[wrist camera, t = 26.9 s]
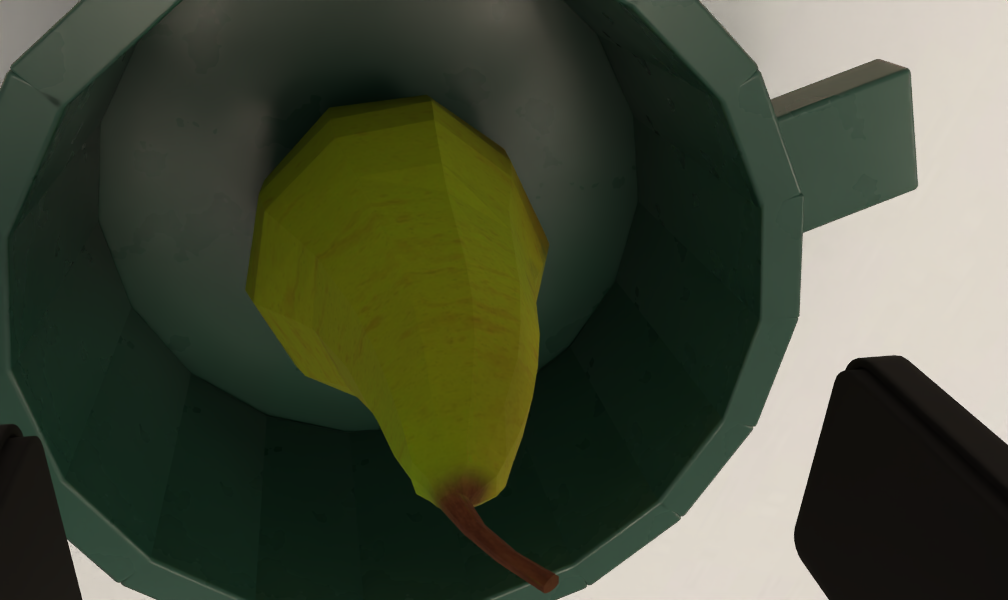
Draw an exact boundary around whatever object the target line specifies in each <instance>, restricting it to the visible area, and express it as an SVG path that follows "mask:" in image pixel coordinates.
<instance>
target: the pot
mask: <svg viewBox="0 0 1008 600" xmlns="http://www.w3.org/2000/svg"><path fill="white" fill-rule="evenodd" d="M10 69H11V70H9V71H8V72H7V73H6V76H5V78H4V81H3V83H2V86H1V88H0V425H1V424H15V425H17V426H18V427H19V428H20V430H21V431H22V434H23V436H24V437H25V436H37V437H39V439H40V440H41V442H42V445H43V448H44V452H45V456H46V459H47V463H48V467H49V471H50V475H51V479H52V483H53V487H54V491H55V495H56V499H57V503H58V506H59V510H60V514H61V518H62V522H63V526H64V530H65V534H66V538H67V540H69V541H70V542H71V543H72V544H73V545H74V546H75V547H77V548H78V549H79V550H80V551H81V552H82V553H83V554H85V555H86V556H87V557H88V558H89V559H90V560H92V561H93V562H94V563H95V564H96V565H97V566H98V567H100V568H101V569H102V570H103V571H104V572H105V573H107V574H108V575H109V576H110V577H111V578H112V579H113V580H115V581H116V582H118V583H120V582H121V584H122V585H123V586H125V587H128V588H130V589H132V590H135V591H137V592H140V593H142V594H144V595H147V596H149V597H152V598H154V599H156V600H557V599H559V598H562V597H564V596H567V595H569V594H572V593H574V592H577V591H579V590H582V589H584V588H586V587H587V585H592V584H593V583H595V582H596V581H597V580H599V579H600V578H601V577H603V576H604V575H605V574H607V573H608V572H610V571H611V570H612V569H614V568H615V567H616V566H618V565H619V564H620V563H622V562H623V561H625V560H626V559H627V558H629V557H630V556H631V555H633V554H634V553H636V552H637V551H638V550H640V549H641V548H642V547H644V546H645V545H646V544H648V543H649V542H651V541H652V540H653V539H655V538H656V537H657V536H659V535H660V534H661V533H663V532H664V531H666V530H667V529H668V528H670V527H671V526H672V525H674V524H675V523H676V522H678V521H679V520H680V519H681V516H684V515H685V514H686V513H687V512H688V510H689V509H690V508H691V507H692V505H693V504H694V503H695V502H696V500H697V499H698V498H699V497H700V495H701V494H702V493H703V492H704V490H705V489H706V488H707V487H708V485H709V484H710V483H711V482H712V480H713V479H714V478H715V477H716V475H717V474H718V473H719V472H720V470H721V469H722V468H723V466H724V465H725V464H726V463H727V461H728V460H729V459H730V458H731V456H732V455H733V454H734V453H735V451H736V450H737V449H738V448H739V446H740V445H741V444H742V443H743V441H744V440H745V439H746V438H747V436H748V435H749V434H750V433H751V431H752V430H753V426H756V425H757V422H758V420H759V417H760V415H761V412H762V410H763V407H764V405H765V402H766V400H767V397H768V395H769V392H770V389H771V387H772V384H773V382H774V379H775V377H776V374H777V372H778V369H779V367H780V364H781V362H782V359H783V357H784V354H785V352H786V349H787V346H788V344H789V341H790V339H791V336H792V334H793V331H794V329H795V326H796V324H797V321H798V317H799V311H800V287H801V262H802V238H803V233H804V232H806V231H809V230H812V229H814V228H817V227H819V226H822V225H824V224H827V223H830V222H832V221H835V220H837V219H840V218H843V217H845V216H848V215H850V214H853V213H855V212H858V211H861V210H863V209H866V208H868V207H871V206H873V205H876V204H879V203H881V202H884V201H886V200H889V199H891V198H894V197H897V196H899V195H902V194H904V193H907V192H909V191H912V190H915V189H916V188H917V186H918V179H917V164H916V148H915V133H914V118H913V103H912V87H911V73H910V70H909V69H908V68H905V67H902V66H899V65H896V64H893V63H890V62H887V61H884V60H881V59H876V60H873V61H871V62H868V63H865V64H863V65H860V66H858V67H855V68H852V69H850V70H847V71H844V72H842V73H839V74H837V75H834V76H831V77H829V78H826V79H823V80H821V81H818V82H816V83H813V84H810V85H808V86H805V87H802V88H800V89H797V90H794V91H792V92H789V93H787V94H784V95H781V96H779V97H776V98H773V99H771V100H770V97H769V95H768V92H767V89H766V86H765V83H764V80H763V77H762V74H761V72H760V71H759V70H758V66H757V64H756V63H755V62H754V61H753V59H752V58H751V57H750V56H749V55H748V54H747V53H746V52H745V51H744V49H743V48H742V47H741V46H740V45H739V44H738V43H737V42H736V41H735V39H734V38H733V37H732V36H731V35H730V34H729V33H728V32H727V31H726V29H725V28H724V27H723V26H722V25H721V24H720V23H719V22H718V21H717V19H716V18H715V17H714V16H713V15H712V14H711V13H710V12H709V11H708V9H707V8H706V7H705V6H704V5H703V4H702V3H701V2H700V1H699V0H80V1H79V2H78V3H77V4H76V5H75V6H74V7H73V8H72V9H71V10H70V11H69V12H67V13H66V14H65V15H64V16H63V17H62V18H61V19H60V20H59V21H58V22H57V23H56V24H55V25H54V26H52V27H51V28H50V29H49V30H48V31H47V32H46V33H45V34H44V35H43V36H42V37H41V38H40V39H39V40H37V41H36V42H35V43H34V44H33V45H32V46H31V47H30V48H29V49H28V50H27V51H26V52H25V53H23V54H22V55H21V56H20V57H19V58H18V59H17V60H16V61H15V62H14V63H13V64H12V65H11V67H10ZM421 95H428V96H429V97H431V98H432V99H433V100H435V101H436V102H438V103H439V104H441V105H442V106H443V107H445V108H446V109H448V110H449V111H451V112H452V113H454V114H455V115H456V116H458V117H459V118H461V119H462V120H464V121H465V122H466V123H468V124H469V125H471V126H472V127H474V128H475V129H476V130H478V131H479V132H481V133H482V134H484V135H485V136H486V137H488V138H489V139H491V140H492V141H494V142H495V143H497V144H498V145H499V146H501V147H502V148H504V150H505V151H506V153H507V155H508V157H509V159H510V160H511V162H512V165H513V167H514V169H515V171H516V173H517V175H518V177H519V180H520V182H521V184H522V186H523V188H524V190H525V193H526V195H527V197H528V199H529V201H530V203H531V205H532V208H533V210H534V212H535V214H536V216H537V218H538V220H539V222H540V224H541V226H542V228H543V231H544V233H545V235H546V237H547V240H548V242H549V249H548V253H547V258H546V262H545V267H544V271H543V275H542V280H541V284H540V289H539V293H538V298H537V302H536V306H537V314H538V323H539V332H540V338H539V355H538V368H537V374H536V380H535V386H534V393H533V398H532V401H531V405H530V409H529V413H528V417H527V421H526V425H525V429H524V433H523V437H522V439H521V442H520V445H519V448H518V450H517V453H516V456H515V459H514V461H513V464H512V467H511V470H510V474H509V477H508V480H507V483H506V486H505V488H504V489H503V490H502V491H501V492H500V493H499V494H498V495H497V496H496V497H495V498H493V499H491V500H489V501H487V502H485V503H483V504H481V505H479V506H475V507H474V508H475V510H476V511H477V513H478V515H479V516H480V518H481V519H482V521H483V523H484V524H485V525H486V526H487V527H488V528H489V529H490V530H492V531H493V532H494V533H495V534H496V535H498V536H499V537H500V538H501V539H502V540H503V541H505V542H506V543H507V544H508V545H509V546H510V547H512V548H513V549H514V550H515V551H516V552H518V553H519V554H521V555H523V556H525V557H526V558H528V559H530V560H532V561H533V562H535V563H537V564H539V565H540V566H542V567H544V568H545V569H547V570H549V571H551V572H552V573H554V574H556V575H558V576H559V583H558V585H557V586H556V587H555V588H554V589H553V590H552V591H550V592H548V593H543V592H541V591H540V590H538V589H537V588H535V587H534V586H532V585H531V584H529V583H528V582H526V581H525V580H523V579H522V578H520V577H519V576H517V575H516V574H514V573H513V572H511V571H510V570H508V569H507V568H505V567H504V566H502V565H501V564H499V563H498V562H496V561H495V560H494V559H493V558H491V557H490V556H489V555H488V554H487V553H485V552H484V551H483V550H482V549H481V548H480V547H478V546H477V545H476V544H475V543H474V542H472V541H471V540H470V539H469V538H468V537H467V536H465V535H464V534H463V533H462V532H461V531H460V530H459V529H458V528H457V526H456V525H455V524H454V523H453V522H452V521H451V520H450V519H449V518H448V517H447V516H446V514H445V513H444V512H443V511H442V510H441V509H440V508H438V507H436V506H435V505H434V504H433V503H431V502H430V501H428V500H426V499H425V498H423V497H421V496H419V495H417V494H416V492H415V489H414V486H413V484H412V481H411V479H410V477H409V476H408V474H407V473H406V472H405V470H404V469H403V468H402V466H401V465H400V463H399V462H398V461H397V459H396V458H395V456H394V455H393V453H392V450H391V448H390V446H389V444H388V442H387V440H386V438H385V436H384V434H383V432H382V430H381V427H380V425H379V423H378V422H377V420H376V418H375V416H374V415H373V413H372V412H371V411H370V410H369V409H368V408H367V407H366V406H365V405H364V404H363V403H362V402H361V401H360V400H359V399H358V398H357V397H356V396H353V395H351V394H348V393H346V392H344V391H341V390H339V389H336V388H334V387H331V386H329V385H326V384H324V383H322V382H319V381H317V380H314V379H312V378H309V377H307V376H305V375H304V374H303V373H302V372H301V371H300V370H299V369H298V368H297V367H296V365H295V364H294V362H293V361H292V360H291V358H290V357H289V355H288V354H287V352H286V351H285V349H284V348H283V346H282V345H281V343H280V342H279V340H278V339H277V337H276V336H275V334H274V333H273V331H272V330H271V328H270V327H269V325H268V324H267V322H266V321H265V319H264V318H263V317H262V315H261V314H260V312H259V311H258V309H257V308H256V306H255V305H254V303H253V302H252V300H251V298H250V297H249V295H248V294H247V292H246V291H245V288H246V281H247V274H248V267H249V260H250V253H251V246H252V239H253V232H254V225H255V218H256V211H257V204H258V197H259V193H260V190H261V188H262V185H263V183H264V180H265V179H266V178H267V177H268V176H269V174H270V173H271V172H272V171H273V170H274V169H275V168H276V167H277V165H278V164H279V163H280V162H281V161H282V160H283V159H284V158H285V157H286V155H287V154H288V153H289V152H290V151H291V150H292V149H293V148H294V146H295V145H296V144H297V143H298V142H299V141H300V140H301V139H302V137H303V136H304V135H305V134H306V133H307V132H308V131H309V130H310V128H311V127H312V126H313V125H314V124H315V123H316V122H317V121H318V120H319V118H320V117H321V116H322V115H323V114H324V113H325V112H326V111H327V109H328V108H330V107H337V106H345V105H353V104H360V103H368V102H375V101H383V100H391V99H398V98H406V97H414V96H421Z"/></svg>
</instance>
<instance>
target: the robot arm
mask: <svg viewBox="0 0 1008 600" xmlns="http://www.w3.org/2000/svg"><path fill="white" fill-rule="evenodd" d="M794 541H795V546H796V550H797V552H798V555H799V557H800V559H801V560H802V562H803V563H804V565H805V566H806V568H807V569H808V570H809V572H810V573H811V575H812V576H813V578H814V579H815V580H816V582H817V583H818V585H819V586H820V588H821V589H822V591H823V592H824V593H825V595H826V596H827V598H828V599H829V600H1008V445H1007V444H1006V443H1005V442H1004V441H1002V440H1001V439H1000V438H999V437H998V436H997V435H995V434H994V433H993V432H992V431H991V430H990V429H988V428H987V427H986V426H985V425H984V424H983V423H981V422H980V421H979V420H978V419H977V418H975V417H974V416H973V415H972V414H971V413H970V412H968V411H967V410H966V409H965V408H964V407H963V406H961V405H960V404H959V403H958V402H957V401H955V400H954V399H953V398H952V397H951V396H950V395H948V394H947V393H946V392H945V391H944V390H943V389H941V388H940V387H939V386H938V385H937V384H936V383H934V382H933V381H932V380H931V379H930V378H928V377H927V376H926V375H925V374H924V373H923V372H921V371H920V370H919V369H918V368H917V367H916V366H914V365H913V364H912V363H911V362H910V361H909V360H907V359H905V358H904V357H902V356H896V355H892V356H880V357H867V358H857V359H855V360H852V361H851V362H850V363H849V364H848V366H847V368H846V370H845V371H842V372H840V373H839V374H838V375H837V377H836V380H835V382H834V386H833V389H832V393H831V397H830V400H829V404H828V408H827V411H826V415H825V419H824V423H823V426H822V430H821V434H820V437H819V441H818V445H817V448H816V452H815V456H814V459H813V463H812V467H811V470H810V474H809V478H808V482H807V485H806V489H805V493H804V496H803V500H802V504H801V507H800V511H799V515H798V518H797V522H796V526H795V531H794ZM0 600H82V596H81V592H80V589H79V585H78V581H77V577H76V573H75V569H74V565H73V561H72V557H71V553H70V549H69V546H68V542H67V538H66V534H65V530H64V526H63V522H62V518H61V514H60V510H59V506H58V503H57V499H56V495H55V491H54V487H53V483H52V479H51V475H50V471H49V467H48V463H47V459H46V456H45V452H44V448H43V445H42V442H41V440H40V439H39V437H37V436H25V437H24V436H23V434H22V431H21V430H20V428H19V427H18V426H17V425H15V424H1V425H0Z"/></svg>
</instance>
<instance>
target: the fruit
mask: <svg viewBox="0 0 1008 600" xmlns="http://www.w3.org/2000/svg"><path fill="white" fill-rule="evenodd" d="M548 249H549V242H548V240H547V237H546V235H545V233H544V231H543V228H542V226H541V224H540V222H539V220H538V218H537V216H536V214H535V212H534V210H533V208H532V205H531V203H530V201H529V199H528V197H527V195H526V193H525V190H524V188H523V186H522V184H521V182H520V180H519V177H518V175H517V173H516V171H515V169H514V167H513V165H512V162H511V160H510V159H509V157H508V155H507V153H506V151H505V150H504V148H502V147H501V146H499V145H498V144H497V143H495V142H494V141H492V140H491V139H489V138H488V137H486V136H485V135H484V134H482V133H481V132H479V131H478V130H476V129H475V128H474V127H472V126H471V125H469V124H468V123H466V122H465V121H464V120H462V119H461V118H459V117H458V116H456V115H455V114H454V113H452V112H451V111H449V110H448V109H446V108H445V107H443V106H442V105H441V104H439V103H438V102H436V101H435V100H433V99H432V98H431V97H429V96H428V95H421V96H414V97H406V98H398V99H391V100H383V101H375V102H368V103H360V104H353V105H345V106H337V107H330V108H328V109H327V111H326V112H325V113H324V114H323V115H322V116H321V117H320V118H319V120H318V121H317V122H316V123H315V124H314V125H313V126H312V127H311V128H310V130H309V131H308V132H307V133H306V134H305V135H304V136H303V137H302V139H301V140H300V141H299V142H298V143H297V144H296V145H295V146H294V148H293V149H292V150H291V151H290V152H289V153H288V154H287V155H286V157H285V158H284V159H283V160H282V161H281V162H280V163H279V164H278V165H277V167H276V168H275V169H274V170H273V171H272V172H271V173H270V174H269V176H268V177H267V178H266V179H265V180H264V183H263V185H262V188H261V190H260V193H259V197H258V204H257V211H256V218H255V225H254V232H253V239H252V246H251V253H250V260H249V267H248V274H247V281H246V288H245V291H246V292H247V294H248V295H249V297H250V298H251V300H252V302H253V303H254V305H255V306H256V308H257V309H258V311H259V312H260V314H261V315H262V317H263V318H264V319H265V321H266V322H267V324H268V325H269V327H270V328H271V330H272V331H273V333H274V334H275V336H276V337H277V339H278V340H279V342H280V343H281V345H282V346H283V348H284V349H285V351H286V352H287V354H288V355H289V357H290V358H291V360H292V361H293V362H294V364H295V365H296V367H297V368H298V369H299V370H300V371H301V372H302V373H303V374H304V375H305V376H307V377H309V378H312V379H314V380H317V381H319V382H322V383H324V384H326V385H329V386H331V387H334V388H336V389H339V390H341V391H344V392H346V393H348V394H351V395H353V396H356V397H357V398H358V399H359V400H360V401H361V402H362V403H363V404H364V405H365V406H366V407H367V408H368V409H369V410H370V411H371V412H372V413H373V415H374V416H375V418H376V420H377V422H378V423H379V425H380V427H381V430H382V432H383V434H384V436H385V438H386V440H387V442H388V444H389V446H390V448H391V450H392V453H393V455H394V456H395V458H396V459H397V461H398V462H399V463H400V465H401V466H402V468H403V469H404V470H405V472H406V473H407V474H408V476H409V477H410V479H411V481H412V484H413V486H414V489H415V492H416V494H417V495H419V496H421V497H423V498H425V499H426V500H428V501H430V502H431V503H433V504H434V505H435V506H436V507H438V508H440V509H441V510H442V511H443V512H444V513H445V514H446V516H447V517H448V518H449V519H450V520H451V521H452V522H453V523H454V524H455V525H456V526H457V528H458V529H459V530H460V531H461V532H462V533H463V534H464V535H465V536H467V537H468V538H469V539H470V540H471V541H472V542H474V543H475V544H476V545H477V546H478V547H480V548H481V549H482V550H483V551H484V552H485V553H487V554H488V555H489V556H490V557H491V558H493V559H494V560H495V561H496V562H498V563H499V564H501V565H502V566H504V567H505V568H507V569H508V570H510V571H511V572H513V573H514V574H516V575H517V576H519V577H520V578H522V579H523V580H525V581H526V582H528V583H529V584H531V585H532V586H534V587H535V588H537V589H538V590H540V591H541V592H543V593H548V592H550V591H552V590H553V589H554V588H555V587H556V586H557V585H558V583H559V576H558V575H556V574H554V573H552V572H551V571H549V570H547V569H545V568H544V567H542V566H540V565H539V564H537V563H535V562H533V561H532V560H530V559H528V558H526V557H525V556H523V555H521V554H519V553H518V552H516V551H515V550H514V549H513V548H512V547H510V546H509V545H508V544H507V543H506V542H505V541H503V540H502V539H501V538H500V537H499V536H498V535H496V534H495V533H494V532H493V531H492V530H490V529H489V528H488V527H487V526H486V525H485V524H484V523H483V521H482V519H481V518H480V516H479V515H478V513H477V511H476V510H475V508H474V507H475V506H479V505H481V504H483V503H485V502H487V501H489V500H491V499H493V498H495V497H496V496H497V495H498V494H499V493H500V492H501V491H502V490H503V489H504V488H505V486H506V483H507V480H508V477H509V474H510V470H511V467H512V464H513V461H514V459H515V456H516V453H517V450H518V448H519V445H520V442H521V439H522V437H523V433H524V429H525V425H526V421H527V417H528V413H529V409H530V405H531V401H532V398H533V393H534V386H535V380H536V374H537V368H538V355H539V338H540V332H539V323H538V314H537V306H536V302H537V298H538V293H539V289H540V284H541V280H542V275H543V271H544V267H545V262H546V258H547V253H548Z"/></svg>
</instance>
